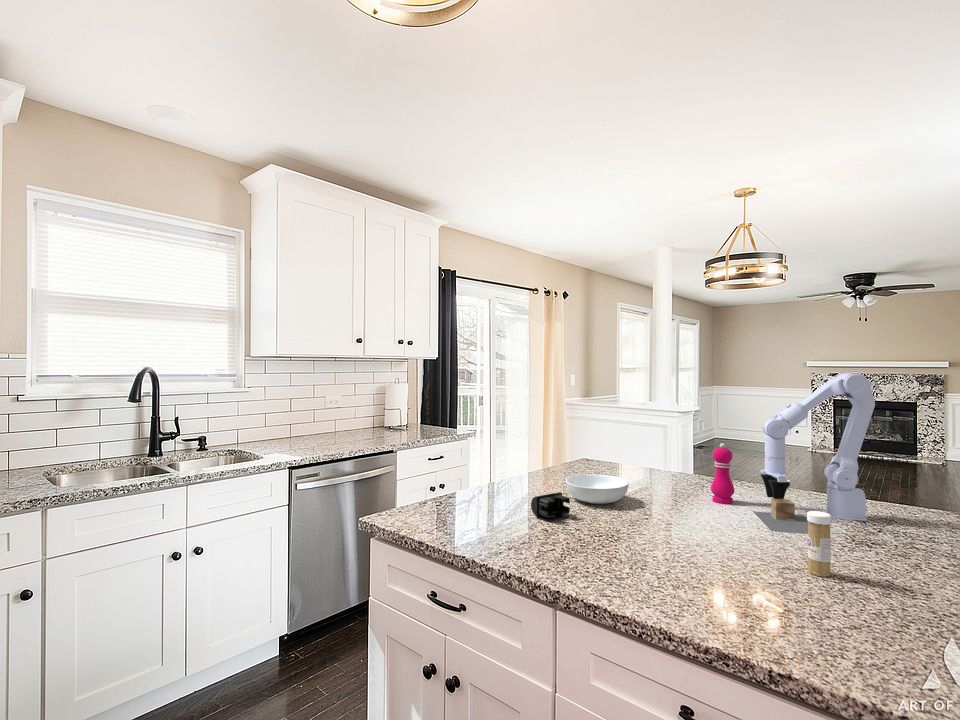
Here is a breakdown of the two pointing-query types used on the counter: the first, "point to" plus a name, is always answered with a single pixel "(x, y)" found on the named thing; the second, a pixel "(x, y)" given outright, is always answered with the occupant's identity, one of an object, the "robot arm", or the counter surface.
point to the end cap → (550, 507)
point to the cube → (783, 509)
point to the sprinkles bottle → (819, 543)
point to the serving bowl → (597, 488)
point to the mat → (784, 523)
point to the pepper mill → (722, 476)
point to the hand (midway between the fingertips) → (774, 500)
